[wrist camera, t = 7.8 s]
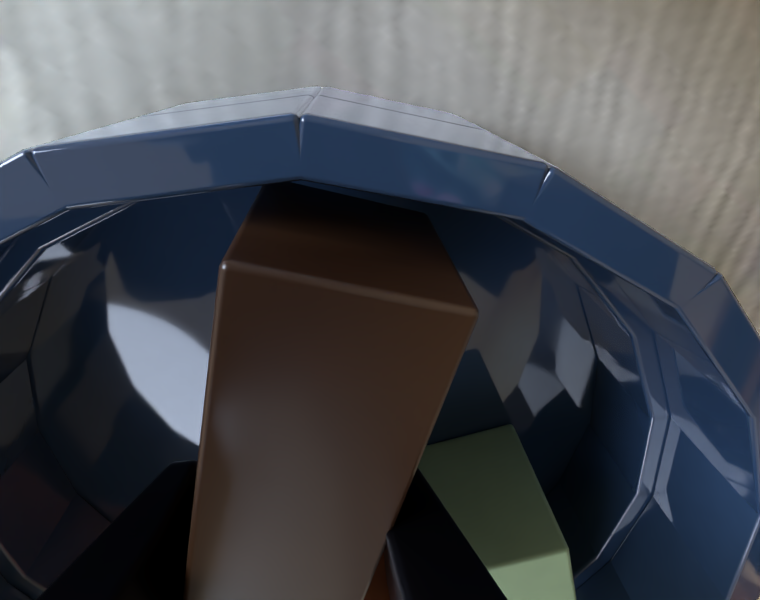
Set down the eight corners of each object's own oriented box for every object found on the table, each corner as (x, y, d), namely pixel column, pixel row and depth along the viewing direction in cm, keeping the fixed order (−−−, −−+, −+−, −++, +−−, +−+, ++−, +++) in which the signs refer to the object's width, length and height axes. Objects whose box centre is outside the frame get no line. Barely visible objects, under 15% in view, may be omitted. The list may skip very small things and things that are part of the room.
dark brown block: (428, 212, 7) (484, 312, 4) (315, 575, 11) (307, 742, 8) (265, 175, 7) (217, 260, 4) (208, 568, 10) (165, 742, 8)
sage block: (529, 509, 14) (584, 644, 10) (413, 538, 14) (432, 677, 11) (512, 421, 12) (570, 550, 9) (380, 456, 12) (391, 592, 9)
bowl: (591, 557, 16) (688, 755, 11) (138, 618, 16) (55, 841, 11) (671, 38, 9) (1023, 17, 4) (-159, 146, 8) (-711, 244, 4)
